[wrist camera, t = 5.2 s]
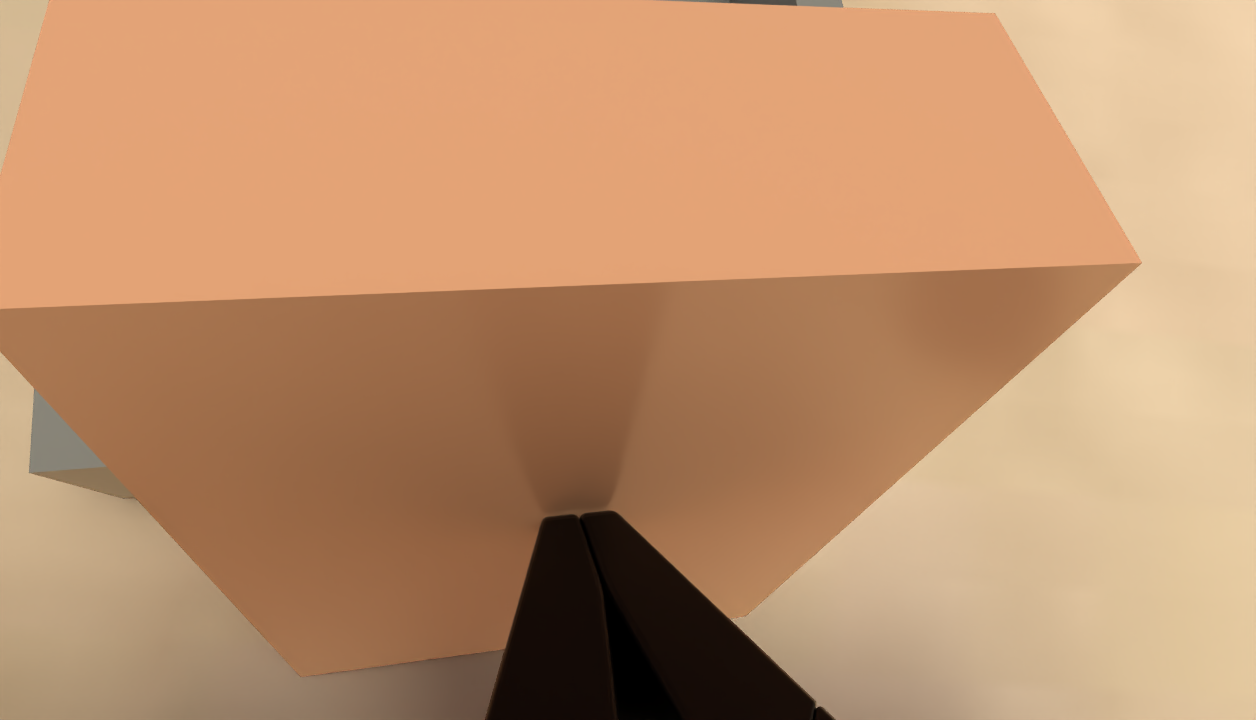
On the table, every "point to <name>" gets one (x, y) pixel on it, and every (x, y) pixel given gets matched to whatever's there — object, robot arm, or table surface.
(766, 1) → the tray
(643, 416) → the tile
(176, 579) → the table surface
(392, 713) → the table surface
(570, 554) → the robot arm
